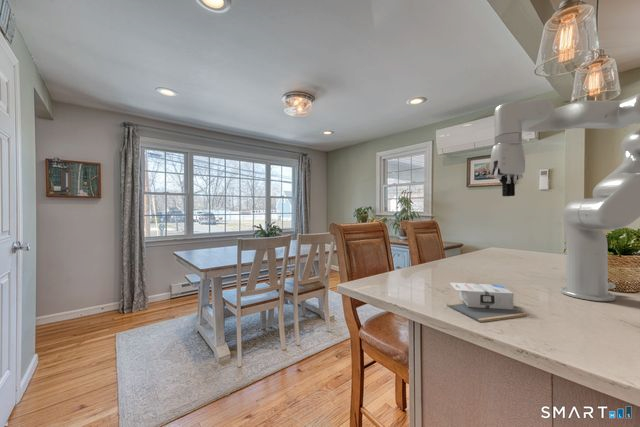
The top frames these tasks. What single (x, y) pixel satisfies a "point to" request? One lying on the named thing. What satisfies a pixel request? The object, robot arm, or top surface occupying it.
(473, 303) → the ink box
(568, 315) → the top surface
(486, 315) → the mat
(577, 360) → the top surface
